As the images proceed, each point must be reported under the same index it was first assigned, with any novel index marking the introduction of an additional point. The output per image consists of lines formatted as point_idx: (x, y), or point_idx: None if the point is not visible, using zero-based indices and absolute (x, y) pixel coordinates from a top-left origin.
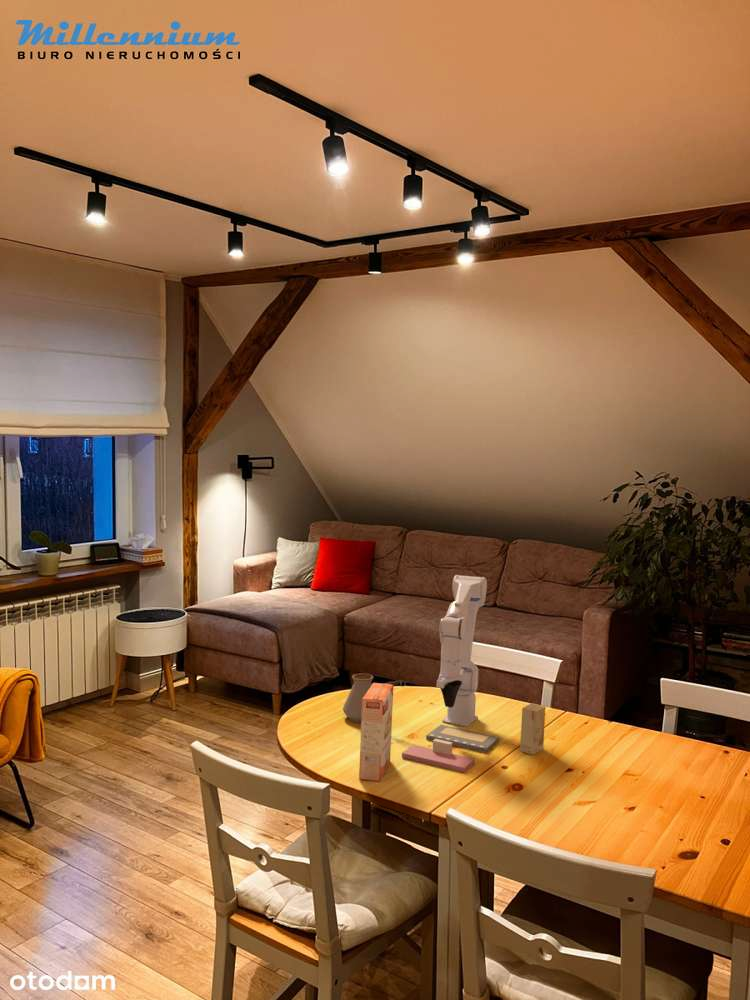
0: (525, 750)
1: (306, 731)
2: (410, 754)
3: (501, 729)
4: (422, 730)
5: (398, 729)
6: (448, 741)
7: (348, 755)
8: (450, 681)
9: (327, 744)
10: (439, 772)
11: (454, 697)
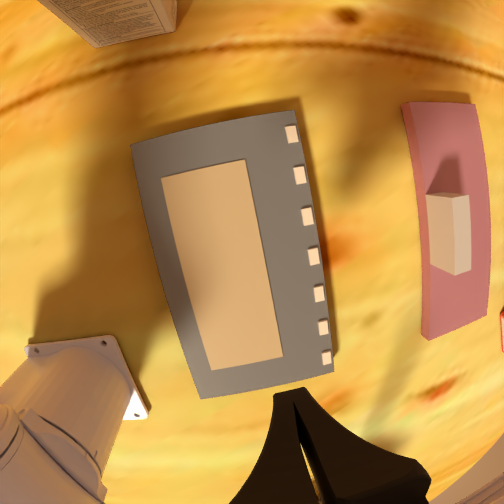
0: (175, 8)
1: None
2: (487, 291)
3: (32, 220)
4: (264, 415)
5: None
6: (323, 284)
7: (497, 386)
8: (502, 501)
9: (463, 443)
10: (497, 169)
11: (309, 427)
